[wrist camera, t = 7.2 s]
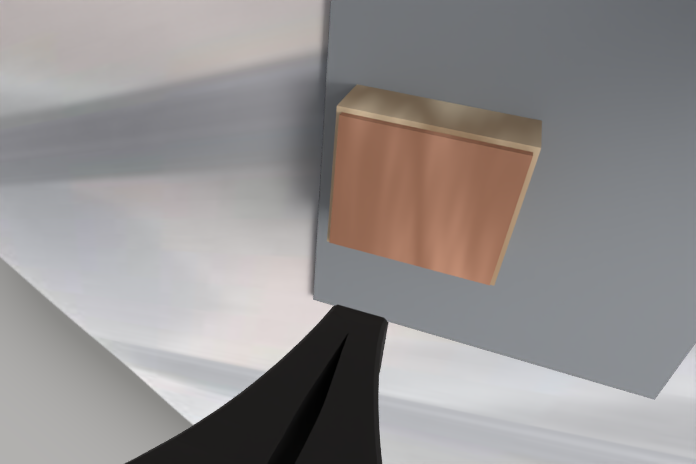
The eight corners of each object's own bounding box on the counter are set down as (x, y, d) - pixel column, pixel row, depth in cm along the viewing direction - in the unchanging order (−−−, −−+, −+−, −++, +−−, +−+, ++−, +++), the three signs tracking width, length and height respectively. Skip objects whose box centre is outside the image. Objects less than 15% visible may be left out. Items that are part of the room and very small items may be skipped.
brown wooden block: (541, 151, 16) (334, 108, 17) (493, 290, 20) (324, 245, 21) (542, 120, 18) (357, 84, 20) (498, 250, 22) (344, 212, 23)
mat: (955, -32, 13) (966, -31, 13) (653, 392, 24) (654, 399, 23) (341, -105, 17) (337, -105, 16) (316, 294, 27) (313, 299, 27)
